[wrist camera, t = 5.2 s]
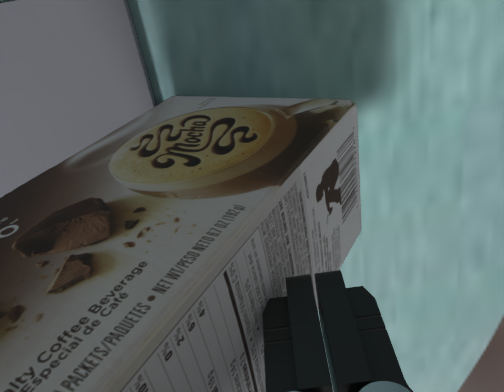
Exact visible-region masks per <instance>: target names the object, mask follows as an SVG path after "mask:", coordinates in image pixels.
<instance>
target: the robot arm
mask: <svg viewBox="0 0 504 392" xmlns="http://www.w3.org/2000/svg"><path fill="white" fill-rule="evenodd" d="M314 275H315V284H316V292H317V300H318V308H319V316H320V321H319V316H318V310H317V305H316V300H315V295H314V290H313V285H312V280H311V275H310V274H307V275H300V276H293V277H285V281H286V290H287V296H285V297H277V298H269V300H268V302H267V304H266V306H265V309H264V311H263V313H262V316H263V339H264V362H265V384H266V392H333V391H334V392H413V391H412V390H411V389H410V388H409V386H408V385H407V383H406V381H405V379H404V377H403V374H402V371H401V368H400V366H399V363H398V360H397V357H396V355H395V352H394V349H393V346H392V344H391V341H390V338H389V335H388V333H387V330H386V328H385V324H384V322H383V319H382V317H381V313H380V311H379V308H378V305H377V302H376V300H375V298H374V297H373V296H372V295H371V294H370V293H369V292H368V291H367V290H366V289H365V288H364V287H363V286H359V287H352V288H346V287H345V284H344V280H343V277H342V273H341V271H340V270H336V271H329V272H321V273H315V274H314ZM320 323H321V326H320ZM321 329H322V331H321ZM322 334H323V336H322ZM323 340H324V341H323ZM324 345H325V346H324ZM325 350H326V352H325ZM326 355H327V357H326ZM327 360H328V362H327ZM328 365H329V367H328ZM329 370H330V372H329ZM330 375H331V377H330ZM331 381H332V382H331ZM332 386H333V389H332Z"/></svg>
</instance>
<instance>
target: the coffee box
mask: <svg viewBox="0 0 504 392" xmlns="http://www.w3.org/2000/svg"><path fill="white" fill-rule="evenodd" d="M360 231H361V203H360V174H359V145H358V118H357V106H356V104H355V103H354V102H353V101H352V100H345V99H308V98H253V97H207V96H172V97H170V98H168V99H167V100H165V101H163V102H162V103H160V104H158V105H157V106H155V107H154V108H152V109H150V110H149V111H147V112H145V113H144V114H142V115H140V116H138V117H137V118H135V119H133V120H132V121H130V122H128V123H127V124H125V125H123V126H122V127H120V128H118V129H116V130H114V131H113V132H111V133H109V134H108V135H106V136H104V137H103V138H101V139H100V140H98V141H96V142H94V143H93V144H91V145H89V146H88V147H86V148H85V149H83V150H81V151H79V152H78V153H76V154H74V155H73V156H71V157H69V158H67V159H66V160H64V161H62V162H61V163H59V164H57V165H56V166H54V167H52V168H50V169H48V170H46V171H44V172H43V173H41V174H39V175H38V176H36V177H34V178H32V179H31V180H29V181H28V182H26V183H24V184H22V185H20V186H19V187H17V188H16V189H14V190H13V191H11V192H9V193H7V194H5V195H4V196H3V197H1V198H0V392H266V384H265V362H264V339H263V316H262V313H263V311H264V309H265V306H266V304H267V302H268V300H269V298H277V297H285V296H287V290H286V281H285V277H293V276H300V275H307V274H310V275H311V280H312V285H313V290H314V295H315V300H316V305H317V310H318V300H317V292H316V284H315V275H314V274H315V273H321V272H329V271H336V270H339V269H340V267H341V265H342V264H343V262H344V260H345V258H346V257H347V255H348V253H349V251H350V249H351V247H352V246H353V244H354V242H355V240H356V239H357V237H358V235H359V233H360Z"/></svg>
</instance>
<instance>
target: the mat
mask: <svg viewBox="0 0 504 392" xmlns="http://www.w3.org/2000/svg"><path fill="white" fill-rule="evenodd" d="M155 106H156V102H155V99H154V95H153V92H152V88H151V84H150V81H149V77H148V74H147V70H146V67H145V63H144V59H143V56H142V52H141V49H140V45H139V42H138V38H137V34H136V31H135V27H134V24H133V20H132V16H131V13H130V9H129V6H128V2H127V0H12V1H6V2H1V3H0V198H1V197H3V196H4V195H5V194H7V193H9V192H11V191H13V190H14V189H16V188H17V187H19V186H20V185H22V184H24V183H26V182H28V181H29V180H31V179H32V178H34V177H36V176H38V175H39V174H41V173H43V172H44V171H46V170H48V169H50V168H52V167H54V166H56V165H57V164H59V163H61V162H62V161H64V160H66V159H67V158H69V157H71V156H73V155H74V154H76V153H78V152H79V151H81V150H83V149H85V148H86V147H88V146H89V145H91V144H93V143H94V142H96V141H98V140H100V139H101V138H103V137H104V136H106V135H108V134H109V133H111V132H113V131H114V130H116V129H118V128H120V127H122V126H123V125H125V124H127V123H128V122H130V121H132V120H133V119H135V118H137V117H138V116H140V115H142V114H144V113H145V112H147V111H149V110H150V109H152V108H154V107H155Z"/></svg>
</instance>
